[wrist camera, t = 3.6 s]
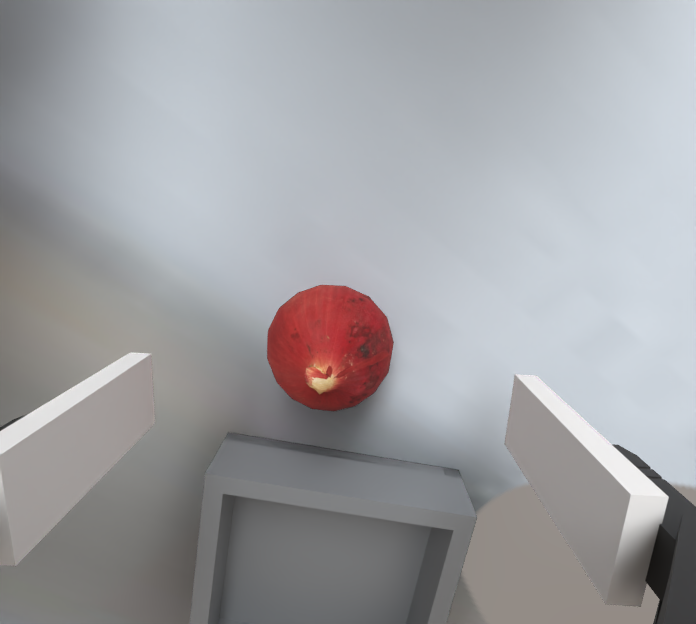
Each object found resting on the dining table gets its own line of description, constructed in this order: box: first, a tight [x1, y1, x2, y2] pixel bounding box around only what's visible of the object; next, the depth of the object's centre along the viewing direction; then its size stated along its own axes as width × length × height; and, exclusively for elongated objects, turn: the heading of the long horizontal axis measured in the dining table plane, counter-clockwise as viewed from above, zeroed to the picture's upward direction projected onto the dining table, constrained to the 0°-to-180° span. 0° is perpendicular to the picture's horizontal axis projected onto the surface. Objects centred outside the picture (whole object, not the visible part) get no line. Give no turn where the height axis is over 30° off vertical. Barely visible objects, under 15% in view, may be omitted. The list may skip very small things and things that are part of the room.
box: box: [190, 432, 477, 624], centre depth 25 cm, size 14×14×4 cm
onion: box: [267, 285, 394, 411], centre depth 20 cm, size 6×6×8 cm
